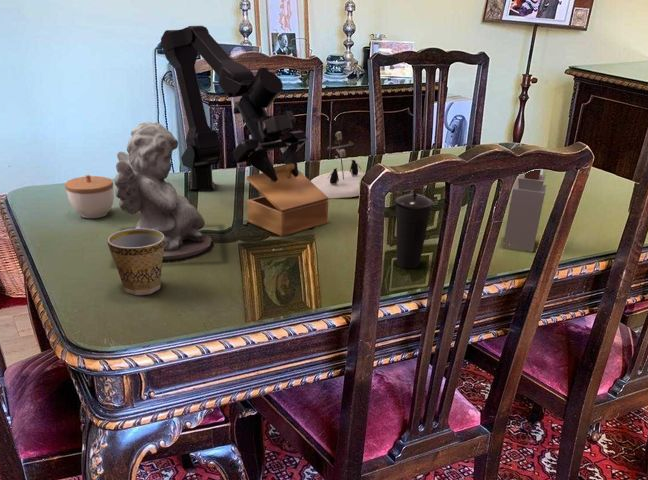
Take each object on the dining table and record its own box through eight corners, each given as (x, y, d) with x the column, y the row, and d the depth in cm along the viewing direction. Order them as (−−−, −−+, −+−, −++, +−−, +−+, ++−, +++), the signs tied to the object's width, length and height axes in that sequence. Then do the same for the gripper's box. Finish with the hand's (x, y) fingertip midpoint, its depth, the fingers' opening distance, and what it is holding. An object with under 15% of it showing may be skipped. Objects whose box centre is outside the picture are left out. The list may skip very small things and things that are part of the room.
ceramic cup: (171, 296, 118) (166, 245, 113) (114, 301, 115) (106, 249, 110) (167, 268, 128) (161, 221, 123) (115, 273, 126) (107, 224, 121)
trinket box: (124, 208, 159) (118, 170, 154) (106, 223, 150) (100, 183, 145) (82, 205, 159) (76, 168, 155) (62, 219, 150) (54, 180, 145)
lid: (246, 179, 148) (250, 162, 145) (293, 168, 157) (298, 152, 154) (281, 213, 144) (286, 196, 140) (327, 200, 153) (333, 184, 149)
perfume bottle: (534, 242, 149) (550, 164, 140) (532, 252, 143) (549, 172, 134) (505, 237, 151) (519, 161, 141) (502, 247, 145) (516, 168, 136)
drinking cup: (430, 261, 137) (441, 167, 126) (419, 274, 131) (430, 176, 120) (397, 254, 139) (405, 162, 129) (384, 266, 133) (392, 170, 123)
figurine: (357, 172, 190) (355, 116, 181) (391, 190, 177) (391, 130, 168) (297, 187, 182) (292, 129, 173) (329, 206, 169) (325, 145, 160)
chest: (248, 221, 154) (247, 199, 151) (293, 209, 163) (293, 188, 160) (281, 236, 146) (281, 213, 143) (327, 222, 155) (328, 201, 152)
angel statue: (114, 267, 128) (94, 139, 115) (124, 228, 147) (107, 115, 134) (225, 262, 132) (218, 138, 119) (221, 225, 151) (214, 115, 138)
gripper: (239, 103, 138) (271, 167, 137) (303, 95, 149) (333, 154, 149) (219, 132, 146) (249, 192, 146) (281, 122, 158) (309, 178, 157)
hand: (286, 178), depth 149 cm, fingers closed on lid, 6 cm apart
